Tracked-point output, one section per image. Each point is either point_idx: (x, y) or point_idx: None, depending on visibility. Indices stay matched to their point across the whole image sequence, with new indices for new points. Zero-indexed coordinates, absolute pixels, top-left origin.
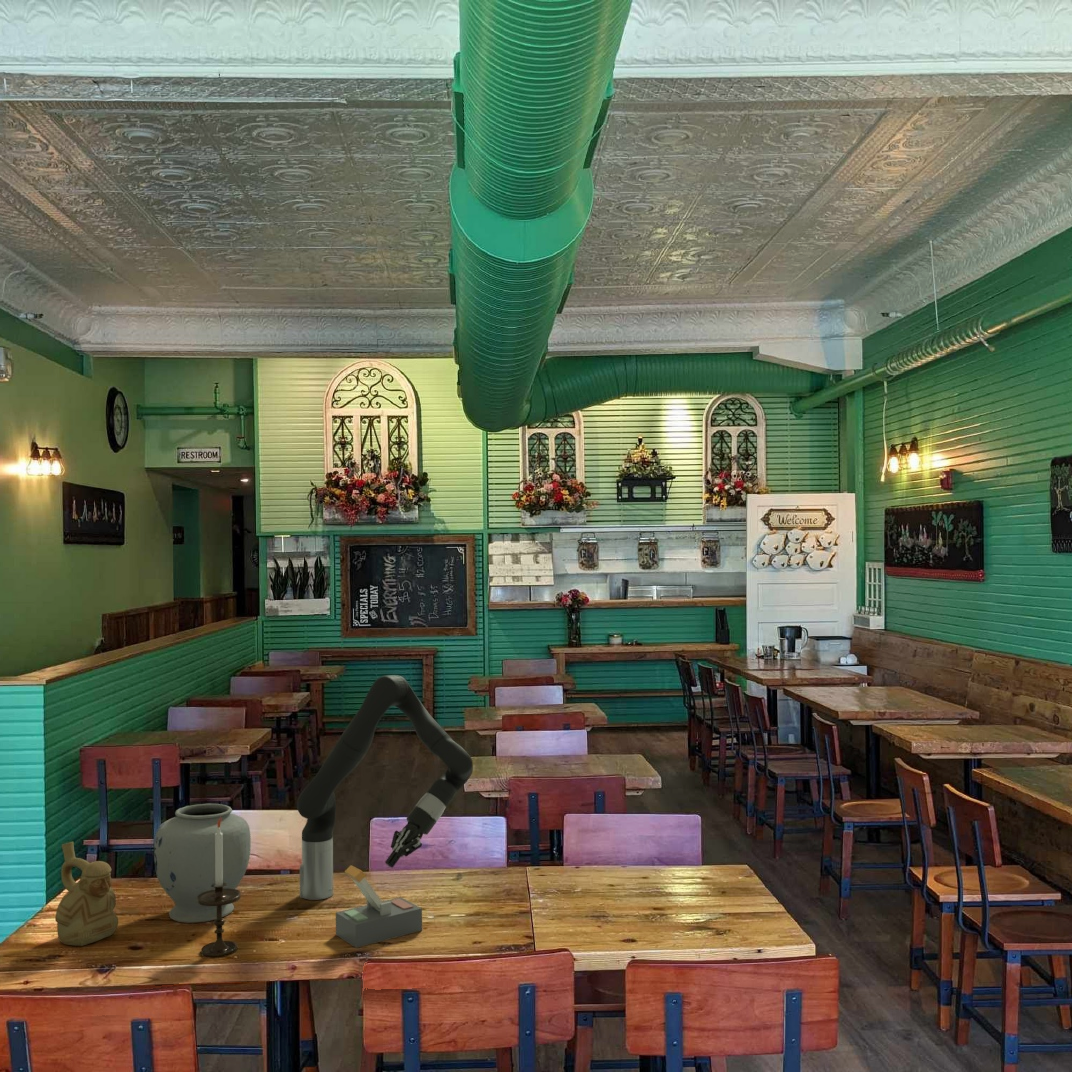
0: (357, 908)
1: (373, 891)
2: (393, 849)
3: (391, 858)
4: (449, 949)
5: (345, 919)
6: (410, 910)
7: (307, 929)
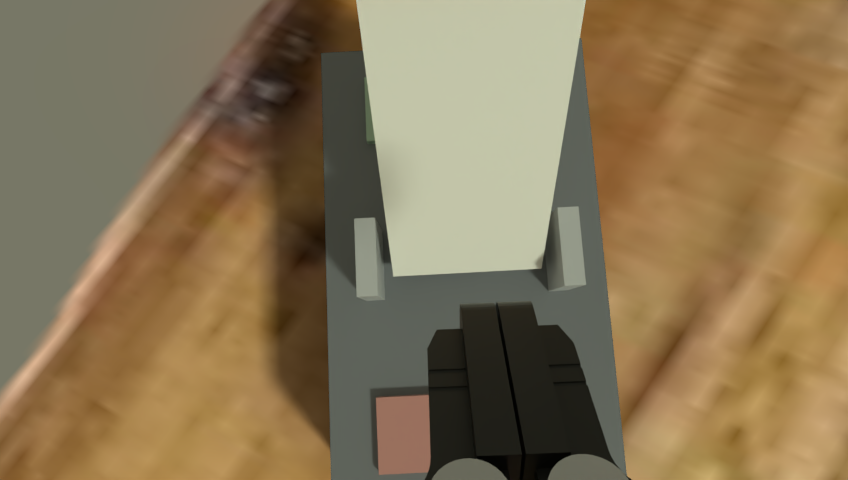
0: (575, 168)
1: (377, 146)
2: (585, 475)
3: (468, 367)
4: (41, 464)
5: None
6: (342, 428)
7: (699, 13)
